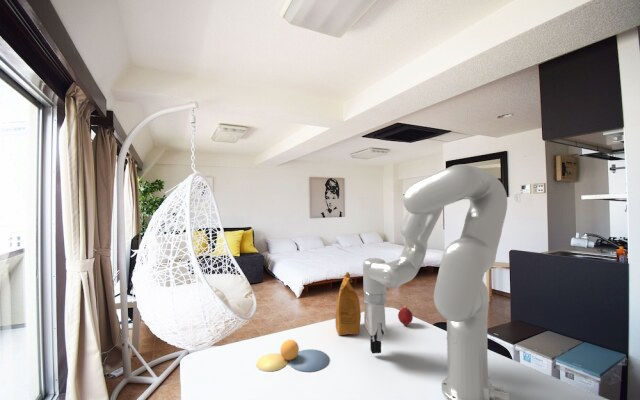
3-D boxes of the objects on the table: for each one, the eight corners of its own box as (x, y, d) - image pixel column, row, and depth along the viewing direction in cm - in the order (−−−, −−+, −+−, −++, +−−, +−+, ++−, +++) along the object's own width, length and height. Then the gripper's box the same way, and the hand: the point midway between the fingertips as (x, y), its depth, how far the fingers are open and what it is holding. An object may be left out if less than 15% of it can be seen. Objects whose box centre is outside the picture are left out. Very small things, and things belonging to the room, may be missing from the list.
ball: (274, 352, 96) (288, 363, 96) (279, 352, 91) (293, 364, 91) (285, 335, 99) (298, 346, 99) (290, 335, 94) (304, 347, 94)
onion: (415, 326, 118) (415, 307, 118) (404, 329, 115) (403, 309, 115) (406, 321, 123) (406, 302, 123) (395, 323, 121) (395, 304, 121)
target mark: (336, 356, 96) (336, 355, 96) (316, 376, 85) (316, 376, 85) (303, 346, 103) (303, 346, 103) (281, 364, 92) (281, 363, 92)
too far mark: (293, 359, 95) (293, 358, 95) (274, 375, 86) (274, 374, 86) (270, 351, 100) (270, 350, 100) (249, 365, 91) (249, 365, 91)
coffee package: (359, 323, 122) (358, 271, 122) (361, 337, 109) (360, 279, 110) (336, 323, 123) (335, 271, 123) (335, 336, 110) (334, 278, 110)
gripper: (359, 290, 103) (359, 341, 103) (369, 305, 88) (370, 365, 88) (379, 289, 104) (380, 340, 103) (393, 304, 89) (394, 364, 89)
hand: (375, 351), depth 96 cm, fingers closed
